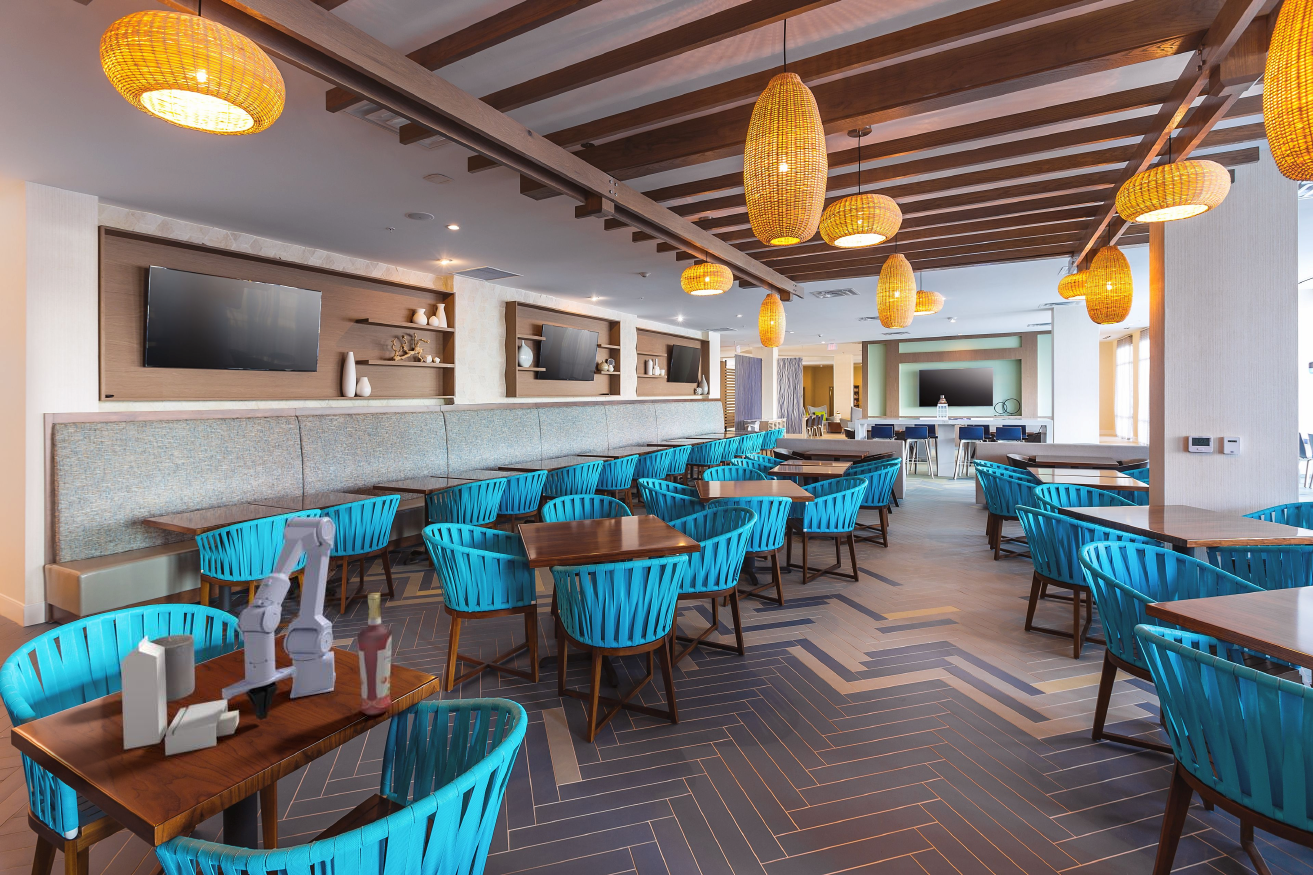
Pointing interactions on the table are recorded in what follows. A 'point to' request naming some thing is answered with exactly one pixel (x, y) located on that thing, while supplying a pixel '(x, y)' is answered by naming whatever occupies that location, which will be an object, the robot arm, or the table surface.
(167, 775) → the table surface
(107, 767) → the table surface
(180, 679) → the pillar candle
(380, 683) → the liquor
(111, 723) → the table surface
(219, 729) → the cream rectangular beam
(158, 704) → the milk
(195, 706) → the slotted white box
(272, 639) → the robot arm
